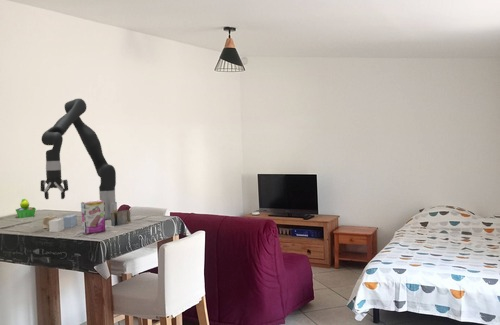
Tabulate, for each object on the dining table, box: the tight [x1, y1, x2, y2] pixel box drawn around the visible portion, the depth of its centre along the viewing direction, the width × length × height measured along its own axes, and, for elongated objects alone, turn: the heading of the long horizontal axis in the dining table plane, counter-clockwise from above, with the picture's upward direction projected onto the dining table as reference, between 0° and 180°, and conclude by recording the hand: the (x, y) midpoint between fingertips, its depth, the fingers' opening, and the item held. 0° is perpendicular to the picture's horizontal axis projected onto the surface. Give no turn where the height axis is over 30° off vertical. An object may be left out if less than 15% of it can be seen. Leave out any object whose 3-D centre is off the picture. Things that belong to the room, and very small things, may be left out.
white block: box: [48, 217, 65, 233], centre depth 269 cm, size 4×8×6 cm, turn 178°
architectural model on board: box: [110, 209, 132, 227], centre depth 282 cm, size 11×3×10 cm, turn 141°
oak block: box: [42, 215, 58, 229], centre depth 279 cm, size 4×8×6 cm, turn 178°
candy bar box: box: [80, 199, 106, 235], centre depth 260 cm, size 11×5×16 cm, turn 131°
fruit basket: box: [15, 198, 37, 219], centre depth 318 cm, size 11×9×11 cm
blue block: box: [62, 214, 78, 229], centre depth 279 cm, size 4×8×6 cm, turn 178°
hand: (54, 199), depth 268 cm, fingers open, 8 cm apart
